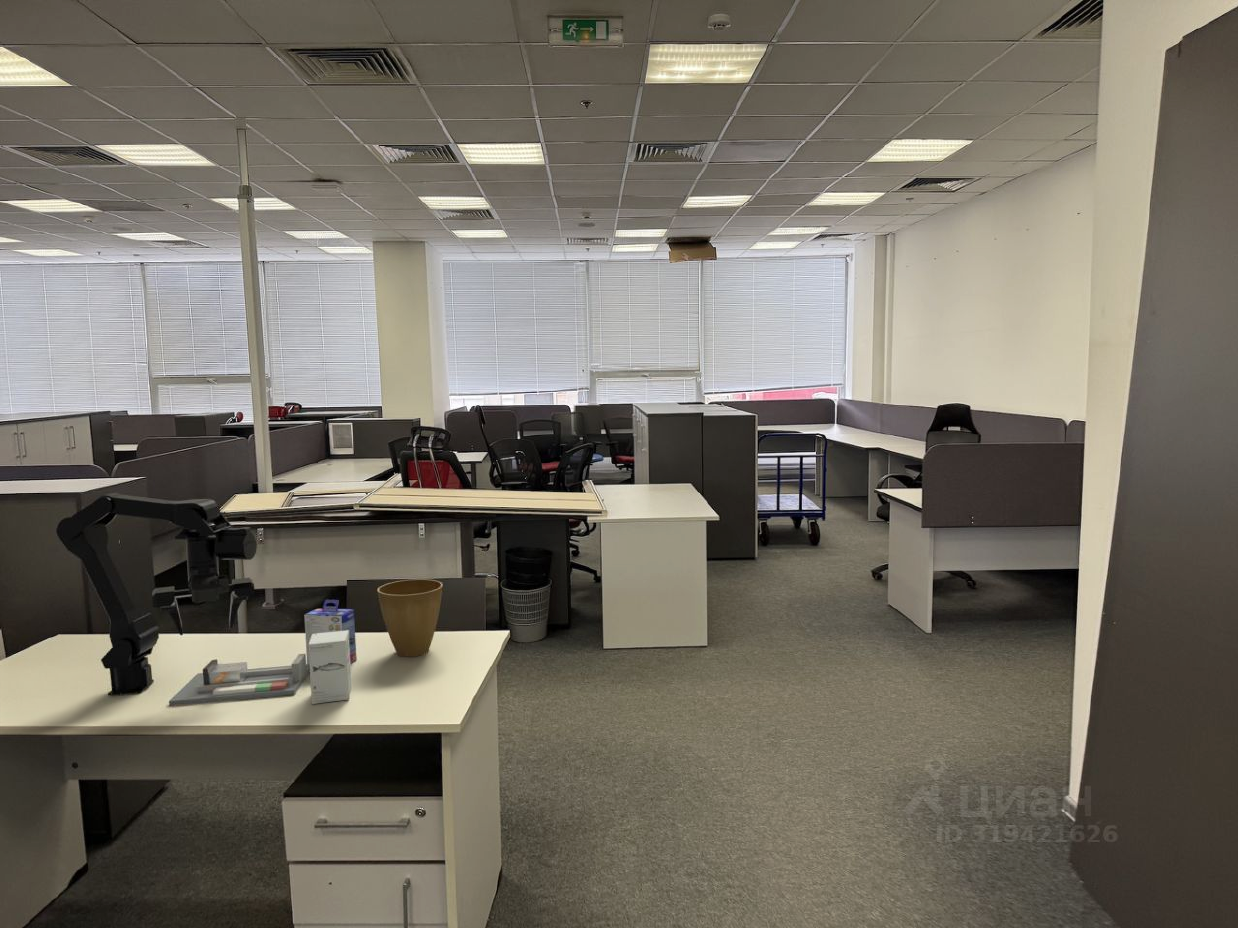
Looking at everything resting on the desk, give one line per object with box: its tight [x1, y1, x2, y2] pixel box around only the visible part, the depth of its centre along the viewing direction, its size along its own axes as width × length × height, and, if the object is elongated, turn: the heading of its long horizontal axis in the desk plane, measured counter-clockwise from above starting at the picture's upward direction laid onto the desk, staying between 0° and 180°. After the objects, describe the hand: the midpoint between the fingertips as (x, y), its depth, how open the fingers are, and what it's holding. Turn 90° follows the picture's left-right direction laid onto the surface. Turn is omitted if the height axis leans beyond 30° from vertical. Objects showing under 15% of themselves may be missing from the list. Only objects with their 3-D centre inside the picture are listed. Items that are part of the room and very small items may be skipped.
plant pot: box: [377, 578, 444, 658], centre depth 177 cm, size 15×15×16 cm
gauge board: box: [168, 653, 310, 707], centre depth 160 cm, size 24×15×5 cm, turn 100°
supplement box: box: [308, 630, 352, 705], centre depth 153 cm, size 7×7×13 cm
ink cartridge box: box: [303, 599, 357, 664], centre depth 172 cm, size 10×6×14 cm, turn 78°
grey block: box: [202, 659, 249, 685], centre depth 157 cm, size 7×10×4 cm
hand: (206, 631), depth 159 cm, fingers open, 9 cm apart
